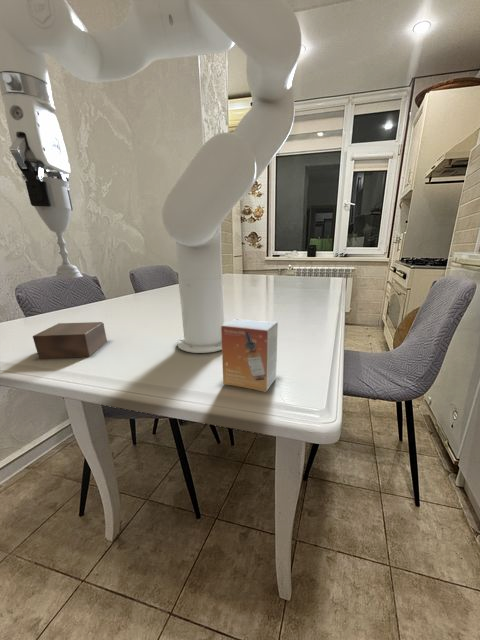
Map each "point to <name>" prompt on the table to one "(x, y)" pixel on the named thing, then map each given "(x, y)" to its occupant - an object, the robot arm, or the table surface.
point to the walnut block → (70, 340)
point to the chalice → (59, 221)
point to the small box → (249, 353)
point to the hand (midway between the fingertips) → (53, 207)
